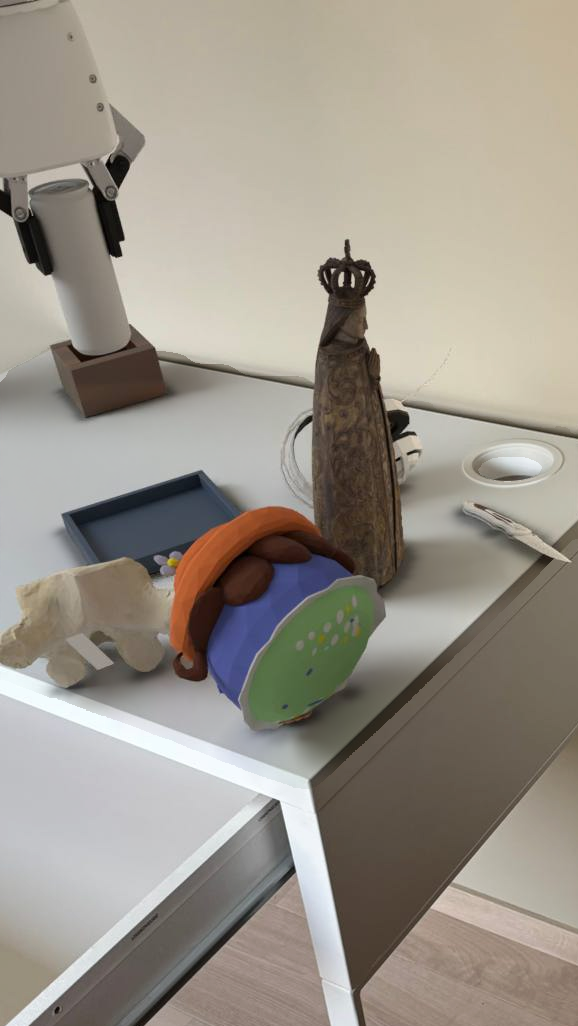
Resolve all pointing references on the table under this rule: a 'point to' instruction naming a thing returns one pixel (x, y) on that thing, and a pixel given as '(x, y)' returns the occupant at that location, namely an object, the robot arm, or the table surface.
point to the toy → (266, 615)
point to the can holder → (110, 375)
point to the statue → (353, 432)
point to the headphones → (403, 443)
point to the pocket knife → (510, 528)
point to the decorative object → (89, 618)
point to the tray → (150, 521)
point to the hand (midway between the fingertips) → (78, 259)
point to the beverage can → (81, 265)
